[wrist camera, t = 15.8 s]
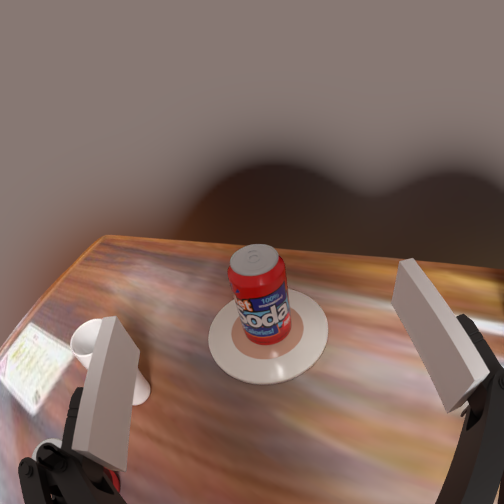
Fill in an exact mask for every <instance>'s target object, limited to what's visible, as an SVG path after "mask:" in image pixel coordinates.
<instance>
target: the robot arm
mask: <svg viewBox="0 0 504 504" xmlns="http://www.w3.org/2000/svg"><path fill="white" fill-rule="evenodd" d="M391 304H392V306H393V307H394V309H395V311H396V313H397V314H398V316H399V318H400V320H401V322H402V323H403V325H404V327H405V329H406V331H407V332H408V334H409V336H410V338H411V340H412V342H413V344H414V346H415V347H416V349H417V351H418V353H419V355H420V357H421V359H422V361H423V363H424V365H425V367H426V369H427V371H428V373H429V375H430V377H431V379H432V381H433V383H434V385H435V388H436V390H437V392H438V394H439V396H440V398H441V400H442V403H443V405H444V407H445V409H446V412H447V413H449V412H451V411H453V410H455V409H457V408H459V407H461V406H462V405H463V404H464V403H465V402H466V401H468V403H469V405H468V406H467V407H466V409H465V410H464V411H463V412H462V414H461V417H463V416H464V415H465V414H466V416H465V420H464V424H463V428H462V431H461V435H460V438H459V442H458V445H457V448H456V451H455V454H454V457H453V460H452V463H451V466H450V469H449V471H448V474H447V477H446V479H445V482H444V484H443V487H442V489H441V491H440V494H439V496H438V498H437V501H436V503H435V504H493V502H494V499H495V497H496V494H497V491H498V488H499V484H500V490H499V498H498V504H504V368H503V367H502V366H501V365H500V363H499V362H498V360H497V358H496V357H495V355H494V353H493V352H492V350H491V349H490V347H489V345H488V344H487V342H486V341H485V339H483V336H482V334H481V333H480V332H479V330H478V328H477V327H476V325H475V324H474V322H473V321H472V320H471V319H469V318H468V317H467V316H466V315H464V314H462V315H459V316H457V317H456V316H455V315H454V313H453V312H452V311H451V309H450V308H449V306H448V305H447V303H446V302H445V300H444V299H443V298H442V296H441V295H440V293H439V292H438V291H437V289H436V288H435V286H434V285H433V284H432V282H431V281H430V280H429V278H428V277H427V276H426V274H425V273H424V272H423V270H422V269H421V268H420V267H419V265H418V264H417V263H416V261H415V260H414V259H413V258H411V259H407V260H403V261H399V266H398V272H397V277H396V283H395V288H394V293H393V297H392V302H391ZM139 356H140V350H139V349H138V347H137V346H136V344H135V343H134V342H133V340H132V339H131V337H130V336H129V334H128V333H127V331H126V330H125V328H124V327H123V325H122V324H121V322H120V321H119V319H118V318H117V316H112V317H105V318H103V320H102V323H101V326H100V329H99V333H98V336H97V339H96V343H95V346H94V350H93V353H92V357H91V361H90V364H89V368H88V372H87V376H86V380H85V384H84V387H77V389H76V390H75V392H74V393H73V395H72V397H71V401H70V405H69V410H68V414H67V416H68V418H67V419H66V424H65V429H64V434H63V439H62V445H61V448H59V447H57V446H56V445H54V444H52V443H49V442H46V443H44V444H42V445H41V446H40V447H39V448H38V450H37V453H36V461H35V460H33V459H31V458H29V457H26V458H24V459H22V460H21V462H20V464H19V467H18V473H19V479H20V484H21V489H22V493H23V498H24V502H25V504H127V503H126V502H125V501H124V499H123V498H122V496H121V495H120V494H119V492H118V491H117V489H116V488H115V487H114V485H113V484H112V482H111V481H110V479H109V478H108V476H107V475H106V474H105V473H104V472H103V469H104V467H105V468H107V469H109V470H112V471H121V472H126V468H127V454H128V442H129V431H130V422H131V413H132V404H133V397H134V389H135V382H136V375H137V369H138V362H139ZM500 481H501V482H500ZM51 495H52V498H51Z"/></svg>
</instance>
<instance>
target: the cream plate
mask: <svg viewBox="0 0 504 504" xmlns="http://www.w3.org/2000/svg"><path fill="white" fill-rule="evenodd" d="M288 294H289V303H290V312H291V321H292V326H291V330H290V333H289V334H288V336H287V337H286V338H285V339H283V340H282V341H280V342H278V343H276V344H273V345H258V344H255V343H253V342H251V341H250V340H249V339H248V338H247V337H246V335H245V333H244V330H243V327H242V323H241V320H240V317H239V313H238V310H237V306H236V303H235V300H232V301H230V302H229V303H228V304H227V305H225V306H224V307H223V308H222V309H221V310H220V311H219V313H218V314H217V315H216V317H215V318H214V320H213V322H212V324H211V327H210V330H209V336H208V342H209V348H210V351H211V354H212V356H213V358H214V360H215V362H216V363H217V365H218V366H219V367H220V368H221V369H222V370H223V371H224V372H225V373H226V374H228V375H229V376H231V377H233V378H235V379H237V380H239V381H242V382H246V383H250V384H257V385H269V384H277V383H281V382H285V381H288V380H291V379H293V378H295V377H297V376H299V375H301V374H303V373H304V372H306V371H307V370H308V369H309V368H311V367H312V366H313V365H314V364H315V363H316V362H317V360H318V359H319V358H320V356H321V355H322V353H323V351H324V349H325V347H326V343H327V339H328V323H327V318H326V316H325V314H324V312H323V310H322V309H321V307H320V306H319V305H318V304H317V303H316V302H315V301H314V300H313V299H311V298H310V297H308V296H307V295H305V294H303V293H301V292H298V291H295V290H291V289H288Z"/></svg>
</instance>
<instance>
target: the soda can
mask: <svg viewBox="0 0 504 504" xmlns="http://www.w3.org/2000/svg"><path fill="white" fill-rule="evenodd" d="M228 279H229V282H230V286H231V289H232V293H233V296H234V300H235V303H236V306H237V310H238V313H239V317H240V320H241V323H242V327H243V330H244V333H245V335H246V337H247V338H248V339H249V340H250V341H251V342H253V343H255V344H258V345H273V344H276V343H278V342H280V341H282V340H283V339H285V338H286V337H287V336H288V334H289V333H290V330H291V326H292V321H291V312H290V303H289V294H288V286H287V278H286V269H285V263H284V261H283V259H282V258H281V257H280V256H279V255H278V252H277V251H276V250H275V249H274V248H273V247H271V246H268V245H264V244H254V245H249V246H246V247H243V248H241V249H239V250H238V251H236V252H235V253H234V254H233V255H232V257H231V259H230V266H229V268H228Z"/></svg>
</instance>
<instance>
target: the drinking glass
mask: <svg viewBox="0 0 504 504" xmlns="http://www.w3.org/2000/svg"><path fill="white" fill-rule="evenodd" d="M102 320H103V319H92V320H89V321H87V322H85V323H84V324H82V325H81V326H80V327H79V328H78V329H77V330H76V331H75V333H74V334H73V336H72V339H71V343H70V347H71V350H72V352H73V354H74V355H75V356H76V357H77V359H78V360H79V361H80V362H81V363H82V365H83V366H84V367H85V368H86V369H87V370H88V368H89V364H90V361H91V357H92V353H93V350H94V346H95V343H96V339H97V336H98V333H99V329H100V326H101V323H102ZM150 390H151V389H150V385H149V383H148V381H147V380H146V379H145V378H144V376H143V375H142V373H141V372H140V370H139V369H137V375H136V382H135V389H134V397H133V404H132V405H139V404H142V403H144V402H145V401H146V400H147V399H148V397H149V395H150Z"/></svg>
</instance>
